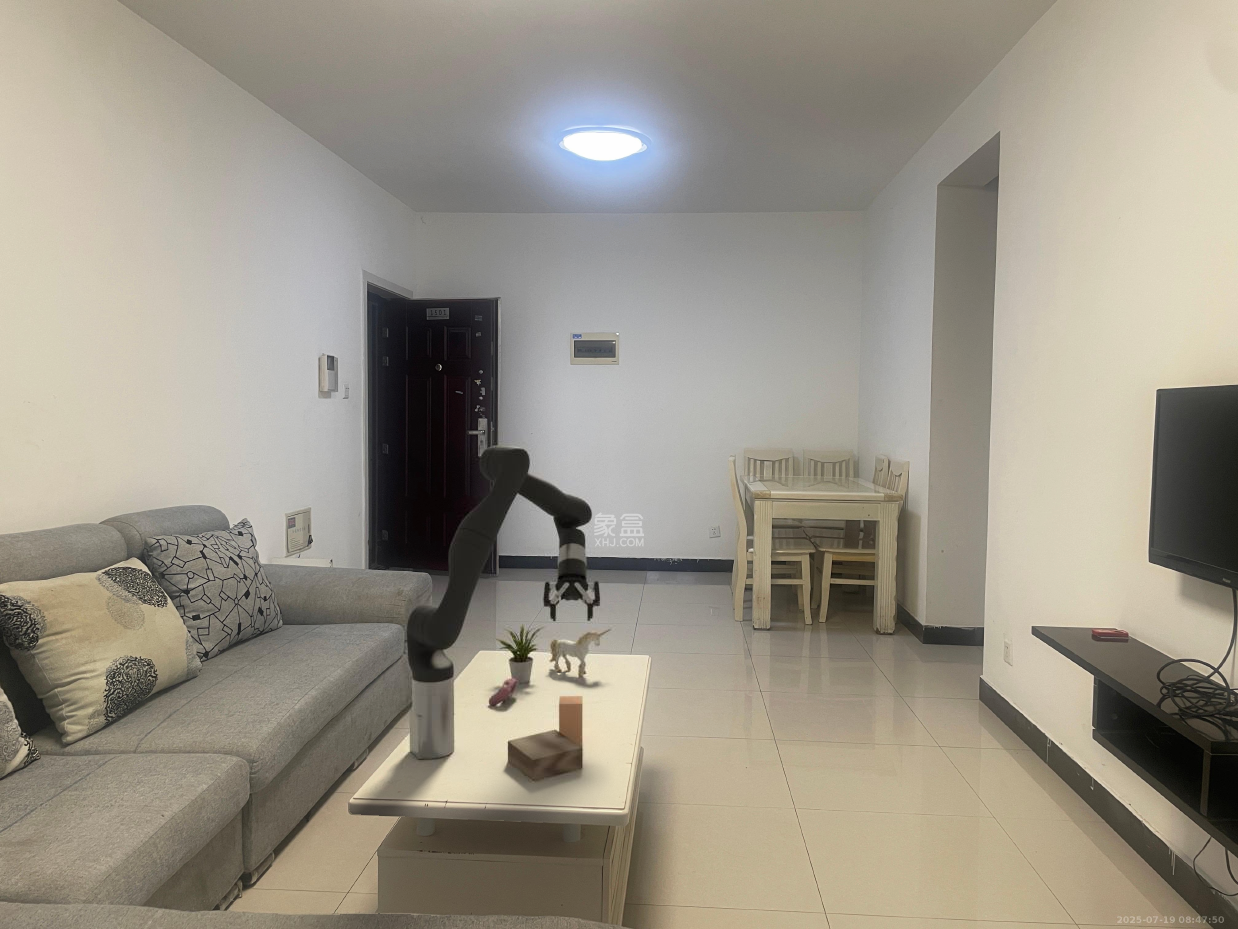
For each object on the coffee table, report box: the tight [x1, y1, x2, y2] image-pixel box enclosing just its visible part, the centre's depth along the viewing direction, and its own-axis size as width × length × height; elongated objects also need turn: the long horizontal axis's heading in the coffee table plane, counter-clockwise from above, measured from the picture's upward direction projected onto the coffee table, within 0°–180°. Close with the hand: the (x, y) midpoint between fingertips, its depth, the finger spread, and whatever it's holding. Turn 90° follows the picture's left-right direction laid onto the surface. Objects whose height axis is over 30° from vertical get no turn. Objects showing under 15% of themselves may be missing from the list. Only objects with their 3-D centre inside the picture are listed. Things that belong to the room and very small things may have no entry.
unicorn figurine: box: [548, 628, 612, 677], centre depth 238 cm, size 7×20×13 cm, turn 75°
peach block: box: [558, 695, 583, 747], centre depth 186 cm, size 5×5×10 cm
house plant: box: [495, 623, 546, 684], centre depth 232 cm, size 14×14×16 cm
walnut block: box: [507, 729, 584, 782], centre depth 173 cm, size 12×12×5 cm
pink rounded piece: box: [488, 677, 520, 706], centre depth 214 cm, size 10×5×7 cm, turn 169°
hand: (571, 619), depth 196 cm, fingers open, 8 cm apart
